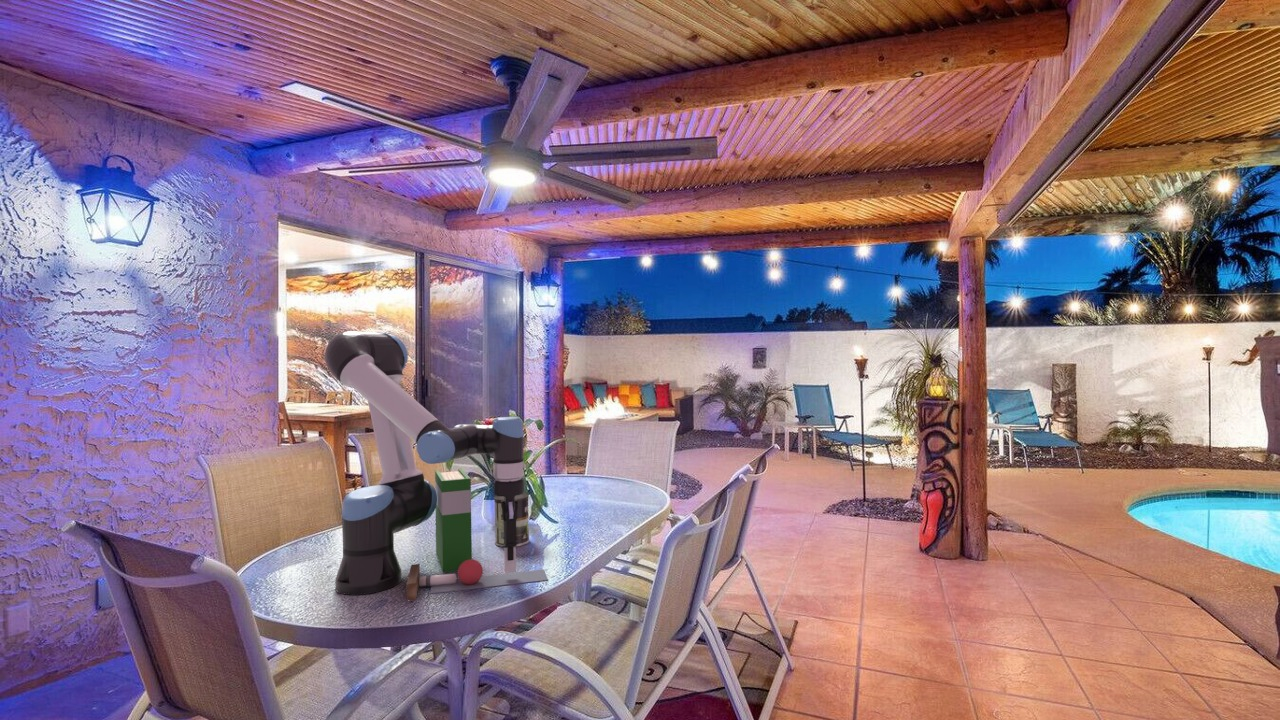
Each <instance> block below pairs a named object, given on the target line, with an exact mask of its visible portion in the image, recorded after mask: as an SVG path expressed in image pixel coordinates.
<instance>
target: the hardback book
mask: <svg viewBox="0 0 1280 720" xmlns="http://www.w3.org/2000/svg"><path fill="white" fill-rule="evenodd" d="M471 482H472V479H471V477H470V476H469V475H468V474H467V473H466V472H465V470H463V468H458V469H457V471H456V470H454V471H447V472H446V471H442V472H440V470H439V469H437V470H434V486H435V487H434V488H435V491H436V494H437V505H436V508H435V554H436V557H437V560H438V562H439V565H440V568H441V571H442V573H449V572H450V573H451V572H455V571H457V572H458V568H459V566H460V565H461V564H462V563H463V562H464V561H466V560H469V559H473V557H472V556H473V555H472V554H473V553H472V552H473V551H472V550H473V549H472V548H473V547H472V543H473V542H472V483H471Z"/></svg>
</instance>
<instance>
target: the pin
mask: <svg viewBox="0 0 1280 720" xmlns="http://www.w3.org/2000/svg"><path fill="white" fill-rule="evenodd" d="M456 579H457V574H456V573H447V574H436V575H435V574H434V575H431V574H430V575H422V576H421V575H420V579H419V588H422V587H427V588H428V587H431V586H435V585H445V584H456Z"/></svg>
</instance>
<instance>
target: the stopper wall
mask: <svg viewBox="0 0 1280 720" xmlns="http://www.w3.org/2000/svg"><path fill="white" fill-rule="evenodd" d="M420 567H421V565H420V564H419V563H416V564H411V565H410V568H409V573H408V577H407V581H406V602H409V601H408V600H414V601H417V598H418V593H417V592H418V591H419V588H420V586H419V579H420V577H421V571H420V570H421V568H420ZM416 597H417V598H416Z"/></svg>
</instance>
